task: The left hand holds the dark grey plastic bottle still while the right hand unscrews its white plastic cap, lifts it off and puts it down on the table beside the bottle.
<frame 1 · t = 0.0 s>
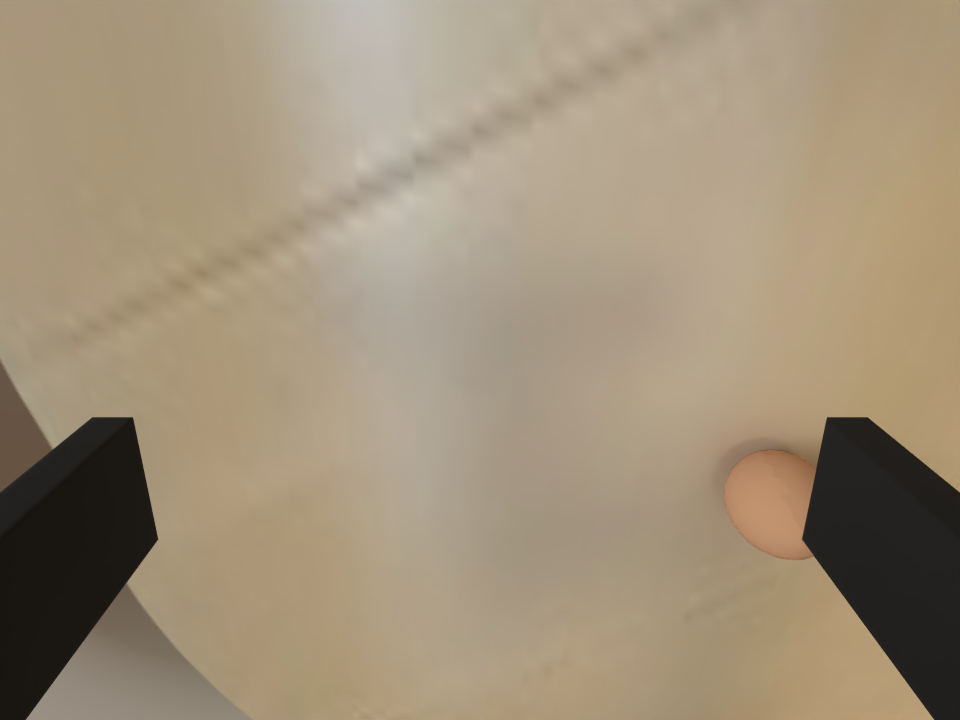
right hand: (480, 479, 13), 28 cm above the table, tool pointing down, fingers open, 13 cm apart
egg: (753, 469, 45), on the table
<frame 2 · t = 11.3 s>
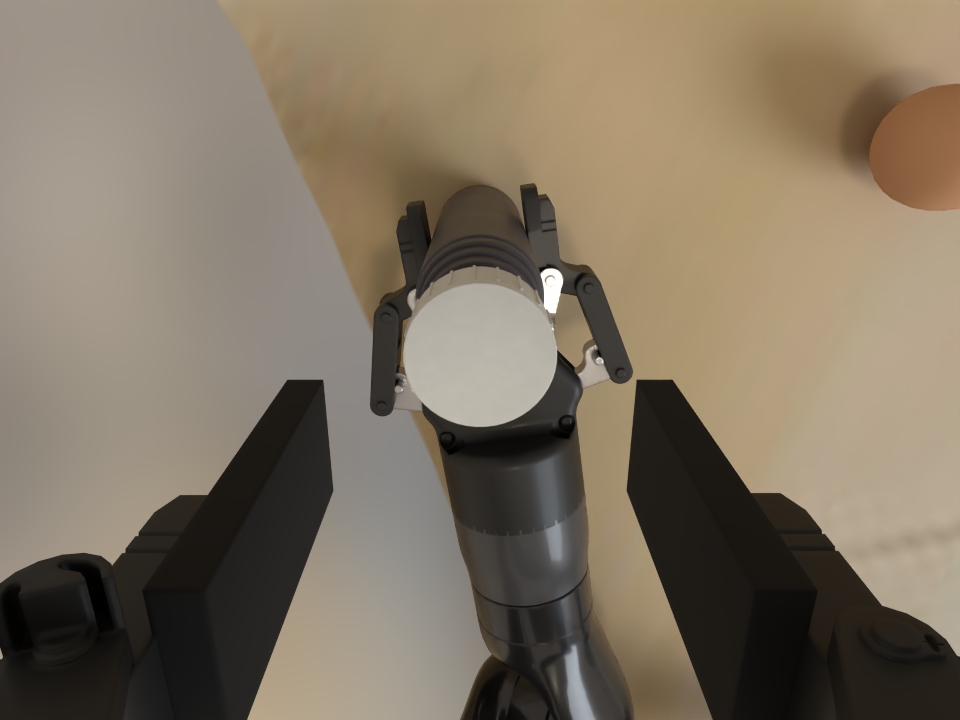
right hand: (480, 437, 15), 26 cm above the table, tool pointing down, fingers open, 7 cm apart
left hand: (470, 196, 32), fingers closed on bottle, 4 cm apart
egg: (897, 144, 37), on the table
bottle: (479, 227, 39), on the table, touching left hand
cap: (480, 354, 19), point 21 cm above the table, screwed on, not yet turned
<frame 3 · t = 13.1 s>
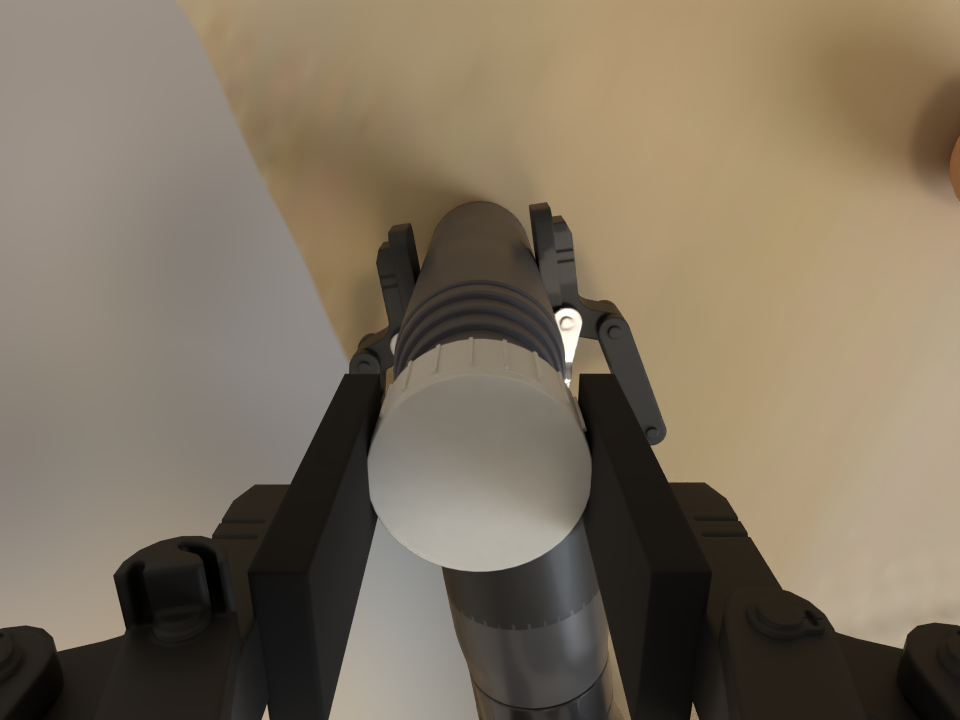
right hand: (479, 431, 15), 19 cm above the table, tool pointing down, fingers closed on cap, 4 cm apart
bottle: (479, 251, 33), on the table, touching left hand
cap: (479, 471, 13), point 21 cm above the table, screwed on, not yet turned, touching right hand
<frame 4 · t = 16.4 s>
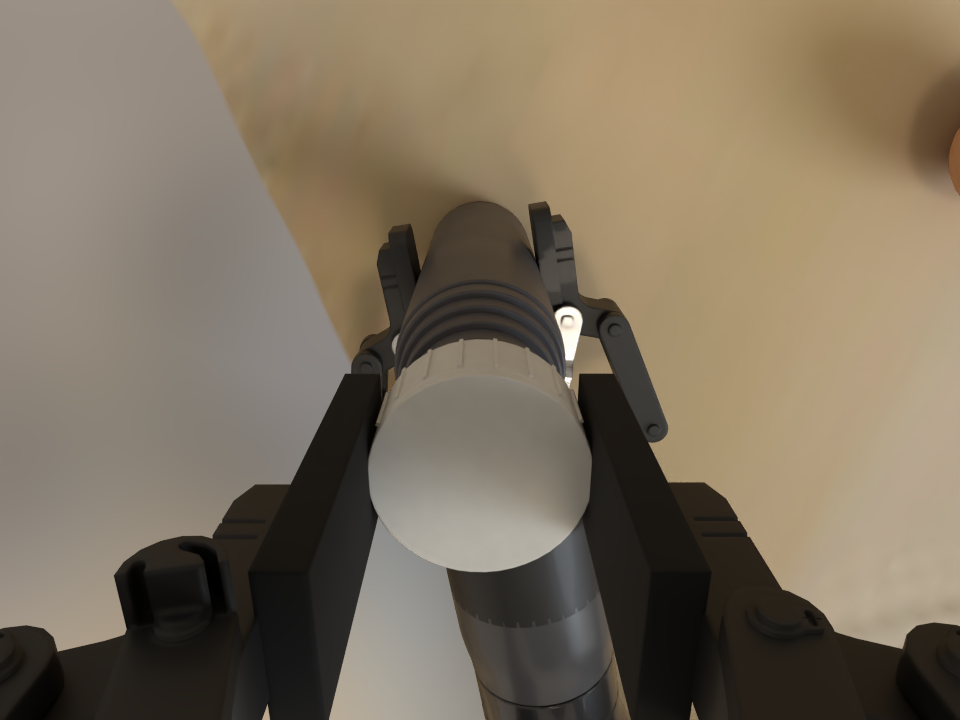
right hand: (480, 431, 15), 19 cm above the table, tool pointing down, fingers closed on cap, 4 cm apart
bottle: (480, 251, 33), on the table, touching left hand
cap: (480, 471, 13), point 21 cm above the table, turned 95° so far, risen 0.1 cm, still on its thread, touching right hand
when the right hand's fingers open (1 cm above the table, at t = 30.7 s): cap drops 1 cm, point 2 cm above the table.
when the left hand's fingers open (6 cm above the table, at t = 31.9 s): bottle stays where it is, on the table.
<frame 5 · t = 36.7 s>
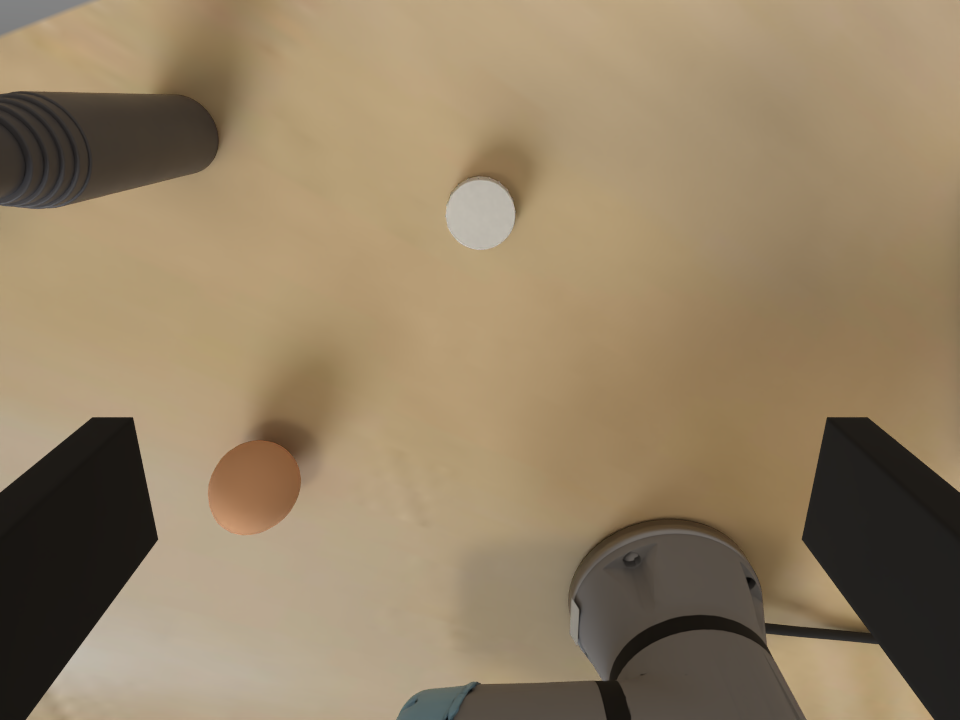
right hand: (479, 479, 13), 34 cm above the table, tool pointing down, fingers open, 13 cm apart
egg: (271, 458, 51), on the table
bottle: (180, 135, 43), on the table
cap: (480, 214, 43), point 2 cm above the table, off its thread
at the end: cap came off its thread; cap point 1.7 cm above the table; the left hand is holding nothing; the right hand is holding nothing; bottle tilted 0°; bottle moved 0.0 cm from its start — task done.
